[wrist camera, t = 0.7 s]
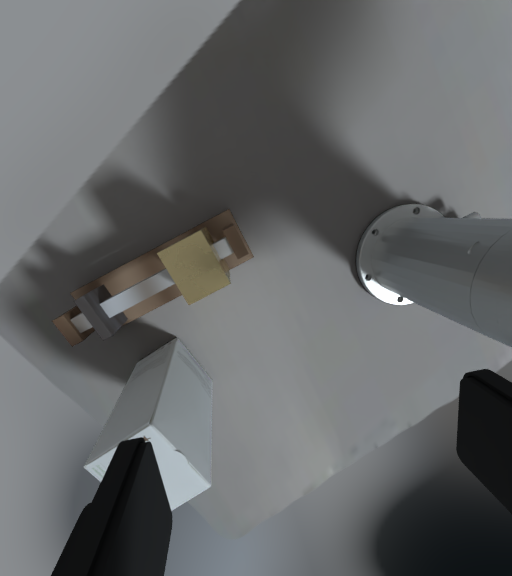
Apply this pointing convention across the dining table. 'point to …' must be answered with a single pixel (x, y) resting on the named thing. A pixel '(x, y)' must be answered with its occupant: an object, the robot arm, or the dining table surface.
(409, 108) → the dining table surface
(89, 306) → the rod stand
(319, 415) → the dining table surface
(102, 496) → the robot arm
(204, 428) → the skincare box
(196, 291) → the yellow rectangular block
